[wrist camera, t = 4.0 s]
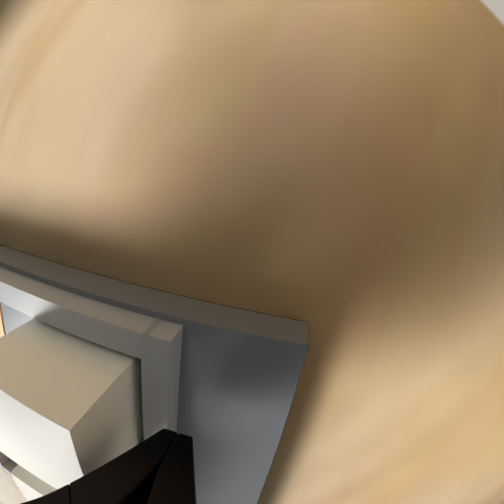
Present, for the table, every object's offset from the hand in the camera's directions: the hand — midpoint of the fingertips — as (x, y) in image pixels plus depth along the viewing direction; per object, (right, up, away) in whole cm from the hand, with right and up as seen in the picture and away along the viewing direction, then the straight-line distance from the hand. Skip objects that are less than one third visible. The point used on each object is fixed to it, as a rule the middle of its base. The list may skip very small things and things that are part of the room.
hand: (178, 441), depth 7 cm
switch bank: (-7, -3, +5) cm, 9 cm away
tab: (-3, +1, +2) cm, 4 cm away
